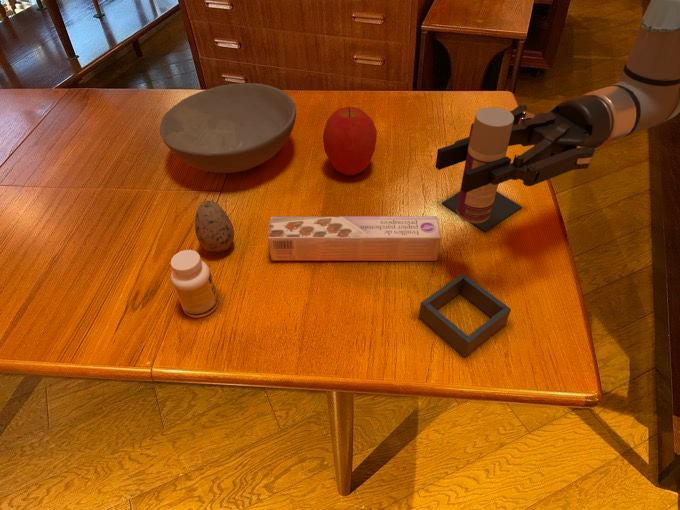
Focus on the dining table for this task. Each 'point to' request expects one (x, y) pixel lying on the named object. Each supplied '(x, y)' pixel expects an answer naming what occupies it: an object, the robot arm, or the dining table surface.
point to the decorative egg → (213, 227)
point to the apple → (349, 140)
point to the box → (355, 238)
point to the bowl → (229, 126)
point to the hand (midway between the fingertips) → (451, 170)
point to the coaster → (498, 214)
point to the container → (484, 160)
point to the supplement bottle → (193, 284)
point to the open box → (475, 296)
